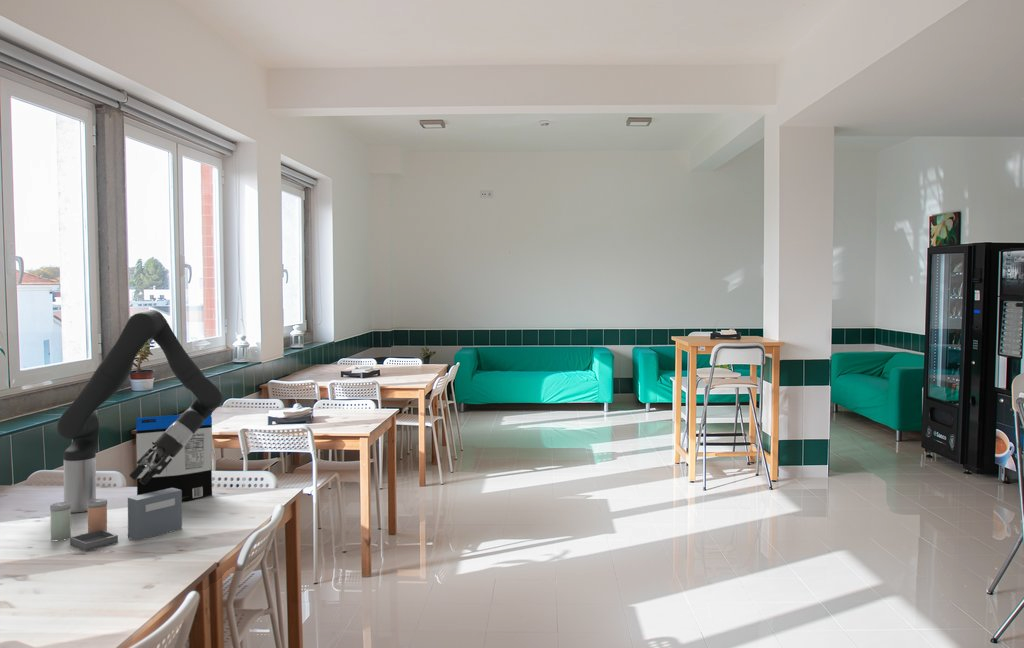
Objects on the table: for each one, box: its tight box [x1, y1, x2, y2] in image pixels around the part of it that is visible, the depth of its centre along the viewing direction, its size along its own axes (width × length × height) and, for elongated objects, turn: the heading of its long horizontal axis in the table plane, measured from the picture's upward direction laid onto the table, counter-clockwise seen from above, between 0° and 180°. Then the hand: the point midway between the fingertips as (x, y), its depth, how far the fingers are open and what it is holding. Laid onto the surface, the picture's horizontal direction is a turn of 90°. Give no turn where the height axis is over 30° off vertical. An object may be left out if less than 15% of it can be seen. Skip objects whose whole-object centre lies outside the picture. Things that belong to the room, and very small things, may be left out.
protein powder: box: [135, 412, 213, 503], centre depth 257 cm, size 10×24×30 cm, turn 123°
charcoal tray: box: [69, 530, 119, 552], centre depth 211 cm, size 9×9×2 cm
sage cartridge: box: [49, 501, 72, 541], centre depth 215 cm, size 5×5×10 cm
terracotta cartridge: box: [87, 498, 108, 533], centre depth 219 cm, size 5×5×10 cm
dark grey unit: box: [127, 488, 183, 542], centre depth 221 cm, size 6×14×12 cm, turn 146°
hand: (136, 480), depth 227 cm, fingers open, 8 cm apart
